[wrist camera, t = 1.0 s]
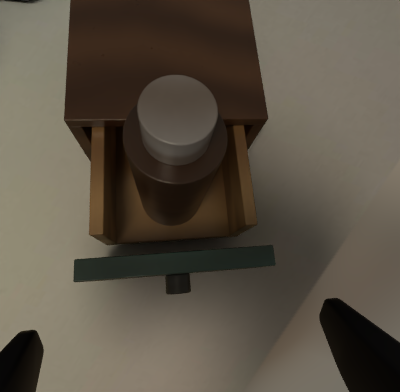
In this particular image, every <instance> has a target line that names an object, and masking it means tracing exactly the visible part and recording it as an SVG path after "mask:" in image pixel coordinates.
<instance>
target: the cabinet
mask: <svg viewBox="0 0 400 392" xmlns="http://www.w3.org/2000/svg"><path fill="white" fill-rule="evenodd" d="M167 75H184V76H188V77H191V78H194V79H196V80H198V81H200V82H201V83H202V84H204V85H205V86H206V87H207V88H208V89H209V90H210V91H211V93H212V94H213V96H214V98H215V100H216V103H217V107H218V112H219V114H220V115H221V117H222V119H223V121H224V123H225V125H244V130H245V137H246V145H247V150H248V149H249V147H250V146H251V144H252V142H253V141H254V139H255V138H256V136H257V135H258V133H259V132H260V130H261V129H262V127H263V125H264V124H265V123H266V121H267V120H268V114H267V108H266V102H265V96H264V90H263V84H262V78H261V72H260V66H259V60H258V54H257V48H256V42H255V36H254V30H253V24H252V18H251V11H250V5H249V0H71V2H70V20H69V39H68V57H67V76H66V95H65V113H64V121H65V122H66V124H67V126H68V127H69V129H70V130H71V132H72V133H73V135H74V137H75V138H76V140H77V141H78V143H79V144H80V146H81V147H82V149H83V151H84V152H85V154H86V155H87V157H88V158H89V160H90V161H91V139H92V127H112V126H124V123H125V120H126V118H127V116H128V114H129V112H130V111H131V110H132V108H133V107H134V106H135V105H136V104H137V103H138V100H139V97H140V95H141V93H142V91H143V90H144V89H145V87H146V86H147V85H148V84H150V83H151V82H152V81H154V80H156V79H158V78H160V77H163V76H167Z"/></svg>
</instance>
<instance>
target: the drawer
mask: <svg viewBox="0 0 400 392" xmlns="http://www.w3.org/2000/svg"><path fill="white" fill-rule="evenodd" d="M225 126H226V130H227V138H228V142H227V149H226V153H225V155H224V157H223V160H222V162H221V164H220V166H219V168H218V170H217V172H216V174H215V176H214V178H213V180H212V182H211V184H210V186H209V188H208V190H207V192H206V194H205V196H204V198H203V201H202V203H201V205H200V207H199V209H198V211H197V212H196V214H195V215H194V216H193V217H192V218H191V219H190V220H189V221H187V222H185V223H183V224H180V225H176V226H166V225H162V224H159V223H157V222H155V221H154V220H152V219H151V218H150V217H149V216H148V215H147V214H146V212H145V210H144V208H143V206H142V203H141V199H140V196H139V193H138V190H137V187H136V184H135V180H134V177H133V174H132V171H131V168H130V164H129V161H128V158H127V155H126V152H125V148H124V144H123V127H124V126H112V127H92V139H91V181H90V222H89V235H90V236H92V237H94V238H96V239H97V240H99V241H101V242H103V243H105V244H106V245H119V244H134V243H149V242H164V241H179V240H194V239H208V238H223V237H237V236H238V235H240V234H242V233H243V232H245V231H247V230H249V229H250V228H252V227H254V226H256V225H257V217H256V210H255V203H254V195H253V188H252V181H251V174H250V166H249V159H248V152H247V145H246V137H245V130H244V125H225ZM275 265H276V263H275V256H274V250H273V245H266V246H252V247H238V248H225V249H211V250H197V251H184V252H170V253H156V254H142V255H129V256H115V257H101V258H88V259H75V260H74V282H88V281H103V280H115V279H127V278H139V277H151V276H163V275H166V276H165V279H166V294H182V293H189V292H191V286H190V274H189V273H199V272H211V271H223V270H235V269H247V268H256V267H265V266H275Z"/></svg>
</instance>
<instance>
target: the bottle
mask: <svg viewBox="0 0 400 392" xmlns="http://www.w3.org/2000/svg"><path fill="white" fill-rule="evenodd" d="M227 142H228V138H227V130H226V126H225V123H224V121H223V119H222V117H221V115H220V114H219V112H218V107H217V103H216V100H215V98H214V96H213V94H212V93H211V91H210V90H209V89H208V88H207V87H206V86H205V85H204V84H202V83H201V82H200V81H198V80H196V79H194V78H191V77H188V76H184V75H167V76H163V77H160V78H158V79H156V80H154V81H152V82H151V83H150V84H148V85H147V86H146V87H145V89H144V90H143V91H142V93H141V95H140V97H139V100H138V103H137V104H136V105H135V106H134V107H133V108H132V110H131V111H130V112H129V114H128V116H127V118H126V120H125V123H124V127H123V144H124V148H125V152H126V155H127V158H128V161H129V164H130V168H131V171H132V174H133V177H134V180H135V184H136V187H137V190H138V193H139V196H140V199H141V203H142V206H143V208H144V210H145V212H146V214H147V215H148V216H149V217H150V218H151V219H152V220H154V221H155V222H157V223H159V224H162V225H166V226H176V225H180V224H183V223H185V222H187V221H189V220H190V219H191V218H192V217H193V216H194V215H195V214H196V212H197V211H198V209H199V207H200V205H201V203H202V201H203V198H204V196H205V194H206V192H207V190H208V188H209V186H210V184H211V182H212V180H213V178H214V176H215V174H216V172H217V170H218V168H219V166H220V164H221V162H222V160H223V157H224V155H225V153H226V149H227Z"/></svg>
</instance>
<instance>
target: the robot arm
mask: <svg viewBox="0 0 400 392" xmlns="http://www.w3.org/2000/svg"><path fill="white" fill-rule="evenodd" d="M320 323H321V325H322V328H323V331H324V333H325V336H326V339H327V341H328V344H329V346H330V349H331V352H332V354H333V357H334V359H335V362H336V364H337V367H338V369H339V371H340V374H341V376H342V378H343V380H344V382H345V384H346V386H347V388H348V390H349V392H400V342H398V341H397V340H396V339H394V338H393V337H391V336H390V335H389V334H387V333H386V332H384V331H383V330H382V329H380V328H379V327H378V326H376V325H375V324H373V323H372V322H371V321H369V320H368V319H367V318H365V317H364V316H362V315H361V314H359V313H358V312H357V311H355V310H354V309H353V308H351V307H350V306H348V305H347V304H346V303H344V302H343V301H342V300H340V299H338V298H331V299H326V300H325V301H324V303H323V307H322V309H321V312H320ZM43 352H44V349H43V345H42V342H41V340H40V337H39V335H38V333H37V331H36V330H28V331H21V332H19V333H18V334H17V335H16V336H15V337H14V338H13V339H12V340H11V341H10V342H9V343H8V344H7V345H6V346H5V348H4V349H3V350H2V351H1V352H0V392H36V387H37V382H38V378H39V373H40V368H41V363H42V358H43Z"/></svg>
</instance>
